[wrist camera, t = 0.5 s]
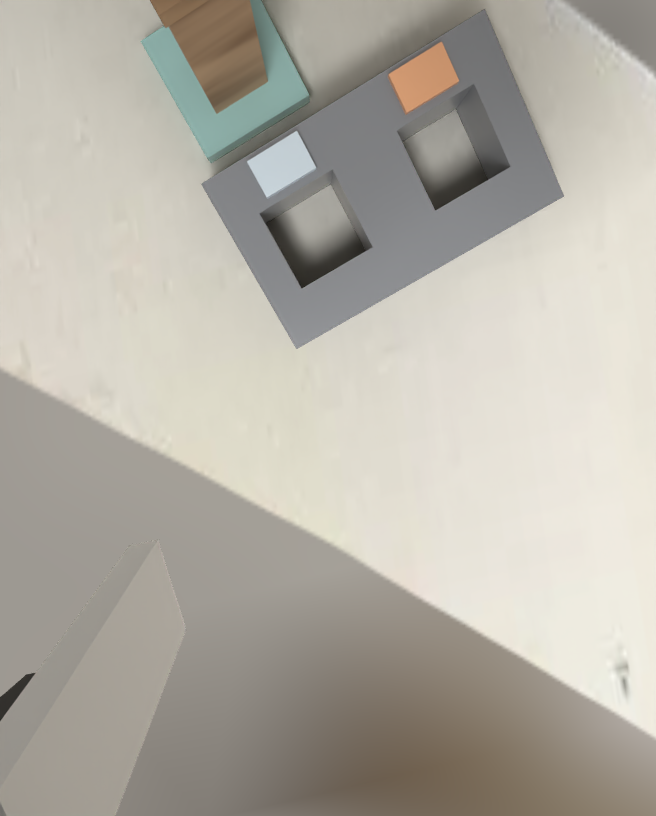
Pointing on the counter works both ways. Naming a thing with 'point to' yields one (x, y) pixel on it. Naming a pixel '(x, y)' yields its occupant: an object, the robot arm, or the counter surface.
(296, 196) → the port box
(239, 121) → the plate
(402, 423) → the counter surface
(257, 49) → the plug
